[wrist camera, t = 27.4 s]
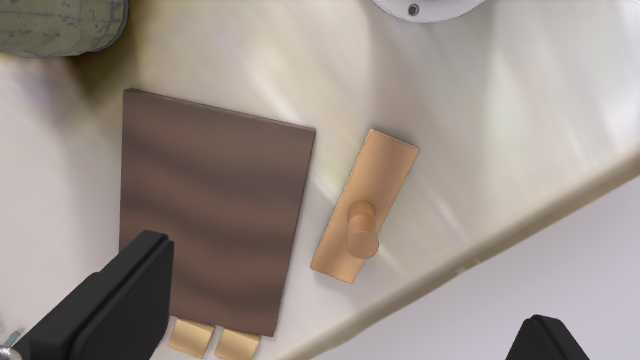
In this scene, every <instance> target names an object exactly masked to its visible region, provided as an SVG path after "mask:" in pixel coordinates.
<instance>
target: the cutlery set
mask: <svg viewBox="0 0 640 360" xmlns="http://www.w3.org/2000/svg"><path fill="white" fill-rule="evenodd" d="M20 335H21V334H20V333H18V332H17V331H15V332H14V333H13V334H12V335H11V336H10V338H9V339H8V340H7V341H6V342H5V343H4V345H3V346H6V347H10V346H11V345H12V344H13V342H14V341H15V340H16V339H17V338H18V336H20Z"/></svg>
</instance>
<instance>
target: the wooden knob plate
mask: <svg viewBox="0 0 640 360" xmlns="http://www.w3.org/2000/svg"><path fill="white" fill-rule="evenodd" d="M418 152H419V149H418V148H417V147H416V146H413V145H412V144H409V143H407V142H404V141H402V140H399V139H397V138H394V137H392V136H389V135H387V134H384V133H382V132H379V131H377V130H374V129H370V130H369V133H368V135H367V137H366V139H365V142H364V144H363V146H362V148H361V151H360V153H359V155H358V157H357V160H356V162H355V164H354V166H353V169H352V171H351V173H350V175H349V178H348V180H347V182H346V184H345V186H344V189H343V191H342V193H341V195H340V198H339V200H338V202H337V204H336V207H335V209H334V211H333V213H332V216H331V218H330V220H329V222H328V225H327V227H326V229H325V231H324V234H323V236H322V238H321V240H320V243H319V245H318V247H317V249H316V252H315V254H314V256H313V258H312V261H311V263H310V268H311V269H313V270H316V271H319V272H321V273H324V274H327V275H329V276H332V277H335V278H337V279H340V280H343V281H345V282H348V283H351V284H352V283H353V282H354V280H355V278H356V276H357V274H358V272H359V270H360V268H361V266H362V264H363V262H364V260H365V259H367V258H370V257H372V256H373V255H374V254H375V253H376V252H377V250H378V246H379V244H378V236H377V234H378V232H379V230H380V228H381V226H382V224H383V222H384V220H385V218H386V216H387V214H388V212H389V210H390V208H391V206H392V204H393V202H394V200H395V198H396V196H397V194H398V192H399V190H400V188H401V186H402V184H403V182H404V180H405V178H406V176H407V174H408V172H409V170H410V168H411V166H412V164H413V162H414V160H415V158H416V156H417V154H418Z"/></svg>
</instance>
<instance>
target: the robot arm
mask: <svg viewBox="0 0 640 360" xmlns="http://www.w3.org/2000/svg"><path fill="white" fill-rule="evenodd" d="M372 1H373V2H374V3H376V4H377V5H378V6H379V7H380V8H382V9H383V10H384V11H386V12H388V13H390V14H391V15H393V16H395V17H397V18H400V19H404V20H407V21H411V22H421V23H431V22H440V21H444V20H448V19H452V18H455V17H457V16H460V15H462V14H464V13H466V12H469V11H470V10H472V9H473V8H475V7H476V6H478V5H479V4H480V3H482V2H483V1H485V0H372ZM410 7H414V8H415V12H414V14H411V13H410V12H409V9H410ZM173 258H174V241H171V240H169V237H168V235H167V234H165V233H161V232H156V231H152V230H147V229H145V230H143V231H142V232H141V233H140V234H139V235H138V236H137V237H136V238H135V239H134V240H132V241H131V242H130V243H129V244H128V245H127V246H126V247H125V248H124V249H123V250H122V251H121V252H120V253H119V254H118V255H117V256H116V257H115V258H114V259H112V260H111V261H110V262H109V263H108V264H107V265H106V266H105V267H104V268H103V269H102V270H101V271H100V272H95V273H92V274H91V275H89V276H88V277H87V278H86V279H85V280H84V281H83V282H82V283H80V284H79V285H78V286H77V287H76V288H75V289H74V290H73V291H72V292H71V293H70V294H69V295H68V296H66V297H65V298H64V299H63V300H62V301H61V302H60V303H59V304H58V305H57V306H56V307H55V308H53V309H52V310H51V311H50V312H49V313H48V314H47V315H46V316H45V317H44V318H43V319H42V320H40V321H39V322H38V323H37V324H36V325H35V326H34V327H33V328H32V329H31V330H30V331H29V332H28V333H26V334H25V335H24V336H23V337H22V338H21V339H20V340H19V341H18V342H17V343H16V344H15V345H13V346H12V347H11V348H10V347H6V346H3V345H0V360H149V359H150V357H151V356H152V354H153V353H154V351H155V349H156V348H157V346H158V344H159V343H160V341H161V340H162V338H163V336H164V334H165V332H166V329H167V325H168V316H169V305H170V293H171V281H172V269H173ZM505 360H590V359H589V358H588V357H587V355H586V354H585V353H584V351H583V350H582V348H581V347H580V346H579V344H578V343H577V342H576V340H575V339H574V337H573V336H572V335H571V333H570V332H569V331H568V329H567V328H566V327H565V325H564V324H563V323H562V322H561V321H560V320H558V319H556V318H551V317H546V316H542V315H533V316H532V317H531V318H530V319H526V320H525V321H524V322H523V324H522V326H521V328H520V330H519V332H518V334H517V336H516V338H515V341H514V342H513V345H512V347H511V349H510V351H509V353H508V355H507V357H506V359H505Z"/></svg>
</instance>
